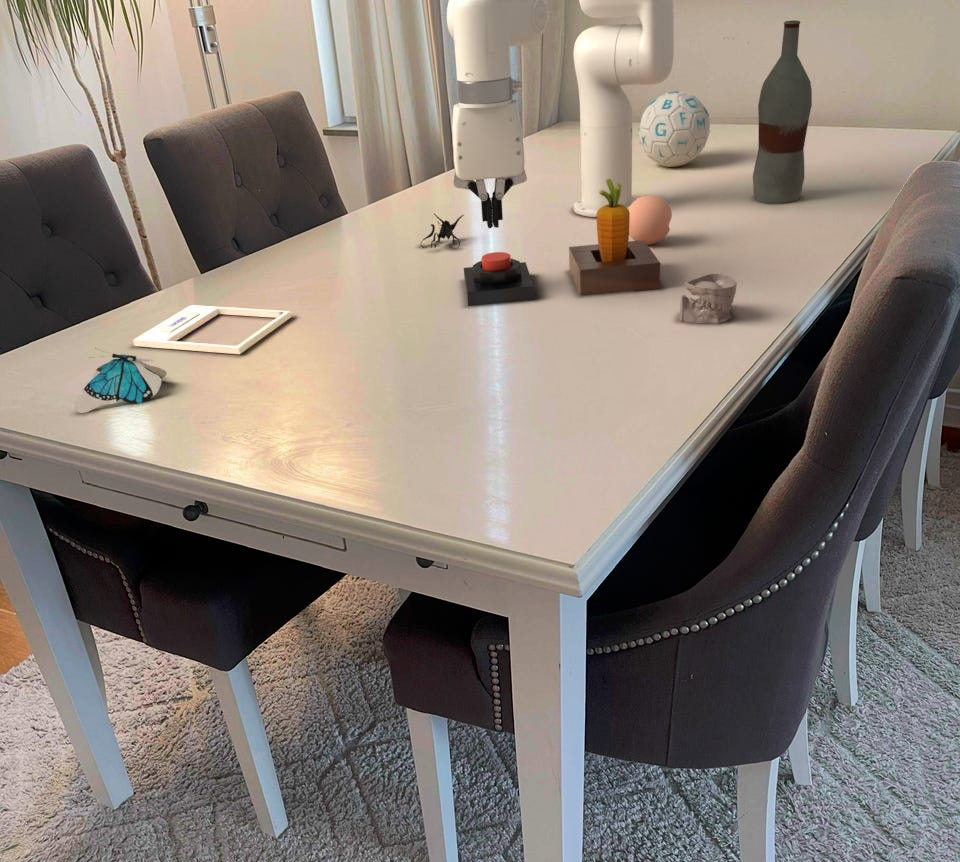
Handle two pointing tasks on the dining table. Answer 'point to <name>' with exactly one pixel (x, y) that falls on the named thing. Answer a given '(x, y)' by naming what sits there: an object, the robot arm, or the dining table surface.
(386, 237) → the dining table surface
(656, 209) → the toy ball
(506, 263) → the button
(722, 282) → the dental mold
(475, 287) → the panel
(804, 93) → the bottle
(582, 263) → the holder
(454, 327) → the dining table surface
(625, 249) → the carrot
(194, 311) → the photo frame
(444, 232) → the creature
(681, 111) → the puzzle ball
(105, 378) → the decorative butterfly
